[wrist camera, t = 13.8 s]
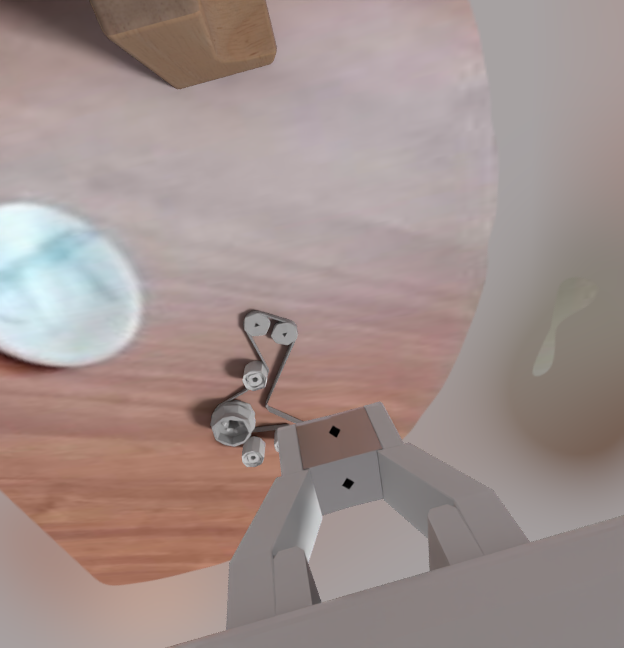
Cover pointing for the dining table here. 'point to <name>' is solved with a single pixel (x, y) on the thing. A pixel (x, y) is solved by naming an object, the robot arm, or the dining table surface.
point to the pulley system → (238, 417)
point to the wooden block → (190, 36)
